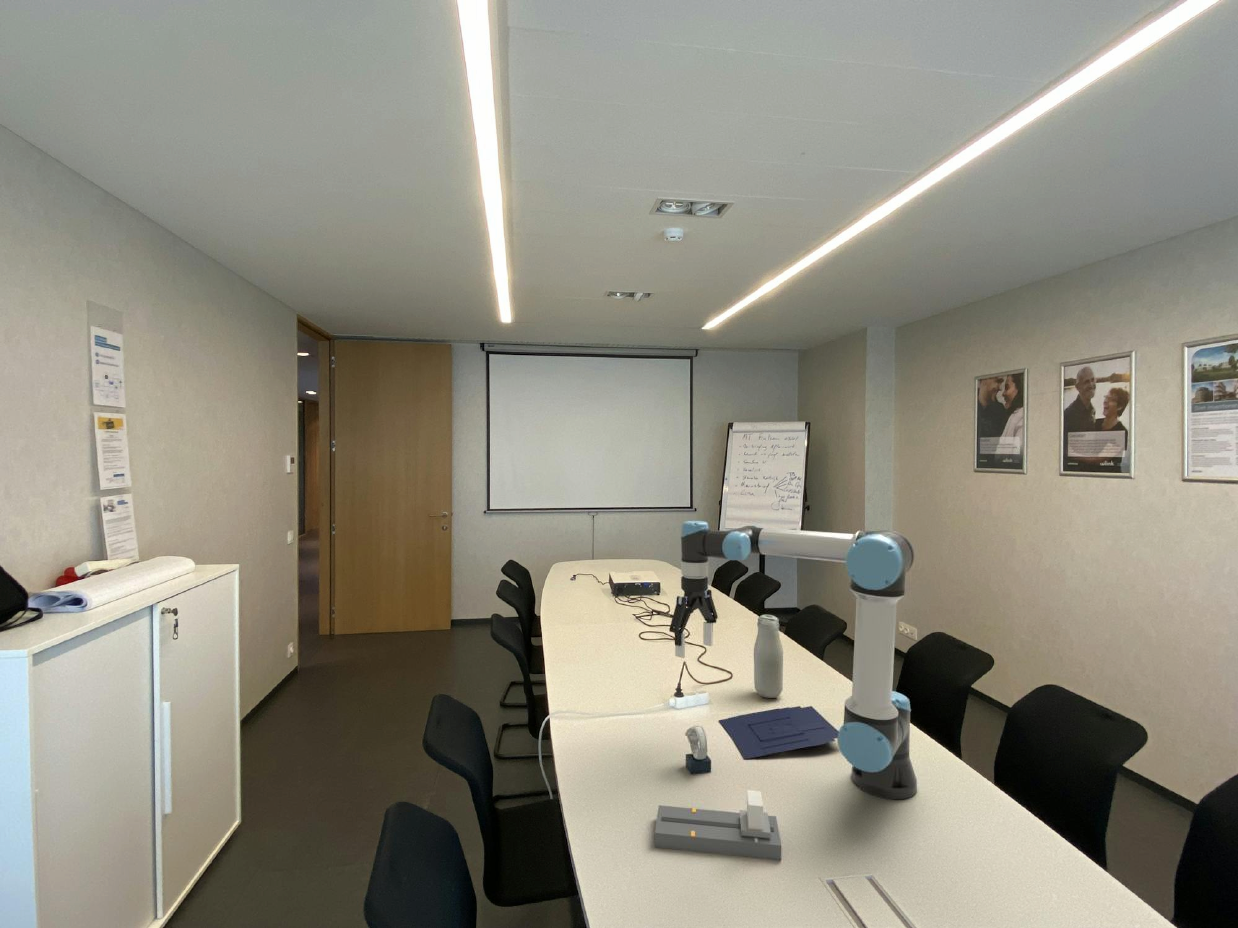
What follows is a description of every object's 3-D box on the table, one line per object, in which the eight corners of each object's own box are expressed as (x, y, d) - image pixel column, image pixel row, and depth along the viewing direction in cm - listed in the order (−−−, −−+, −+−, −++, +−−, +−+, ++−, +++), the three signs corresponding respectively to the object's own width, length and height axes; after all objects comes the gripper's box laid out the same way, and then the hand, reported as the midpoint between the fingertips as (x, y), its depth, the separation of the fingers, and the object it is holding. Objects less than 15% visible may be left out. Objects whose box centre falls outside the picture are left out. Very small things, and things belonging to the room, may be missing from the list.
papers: (849, 749, 166) (847, 736, 166) (745, 769, 162) (744, 755, 162) (809, 711, 190) (808, 700, 190) (719, 728, 186) (717, 716, 186)
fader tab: (767, 817, 131) (767, 789, 131) (770, 838, 124) (770, 808, 124) (739, 815, 132) (739, 787, 132) (741, 835, 125) (741, 805, 125)
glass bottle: (780, 690, 209) (780, 611, 209) (785, 703, 199) (786, 619, 199) (751, 689, 210) (752, 610, 210) (755, 701, 200) (755, 618, 200)
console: (775, 829, 132) (776, 815, 132) (781, 859, 122) (781, 844, 122) (658, 818, 136) (658, 804, 136) (654, 846, 126) (654, 831, 126)
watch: (702, 759, 162) (703, 719, 162) (713, 775, 154) (713, 733, 154) (683, 762, 161) (683, 721, 161) (692, 777, 153) (693, 735, 153)
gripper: (708, 568, 180) (708, 637, 181) (656, 580, 162) (656, 658, 162) (729, 571, 175) (729, 643, 176) (678, 584, 157) (678, 665, 157)
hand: (694, 650), depth 169 cm, fingers open, 13 cm apart
